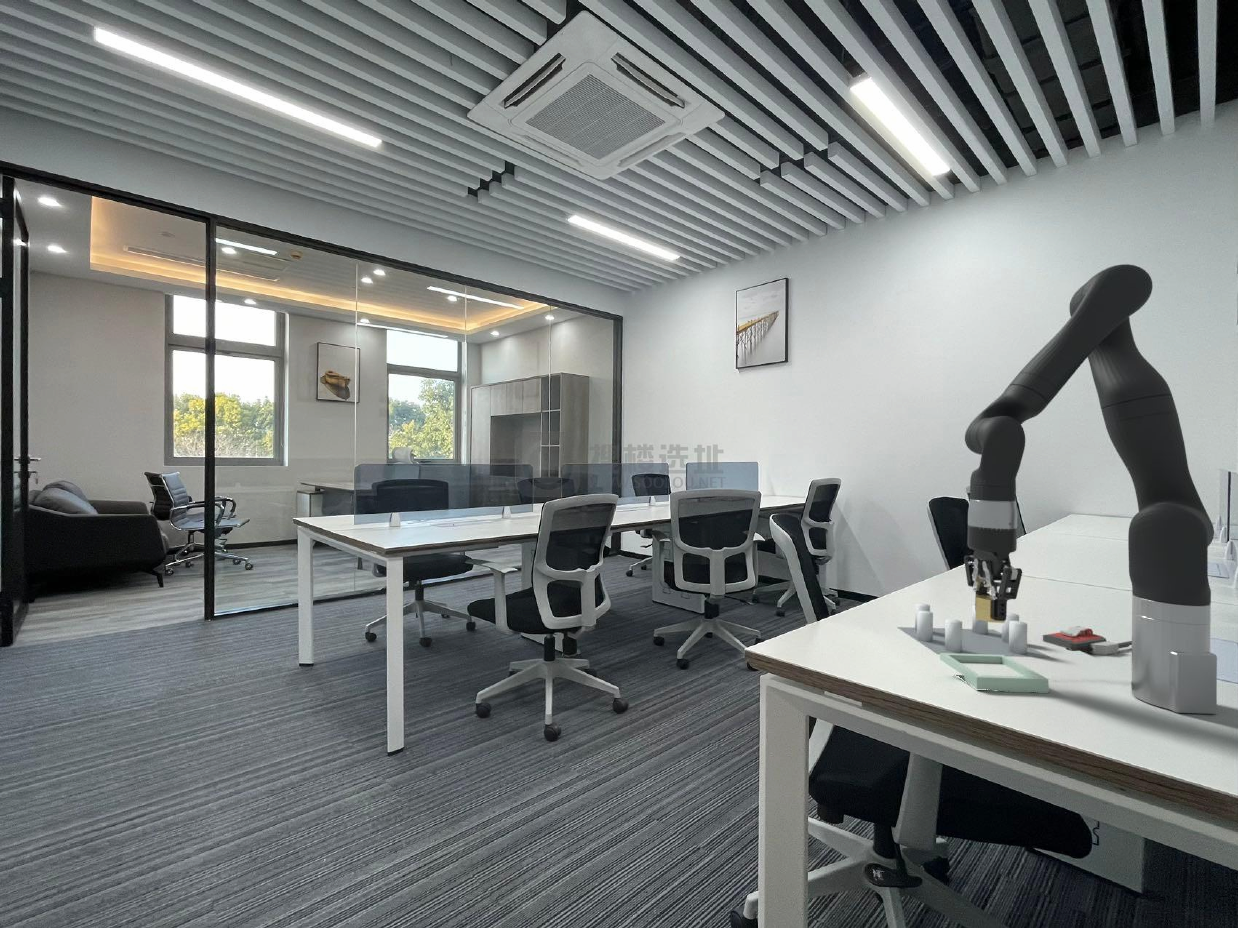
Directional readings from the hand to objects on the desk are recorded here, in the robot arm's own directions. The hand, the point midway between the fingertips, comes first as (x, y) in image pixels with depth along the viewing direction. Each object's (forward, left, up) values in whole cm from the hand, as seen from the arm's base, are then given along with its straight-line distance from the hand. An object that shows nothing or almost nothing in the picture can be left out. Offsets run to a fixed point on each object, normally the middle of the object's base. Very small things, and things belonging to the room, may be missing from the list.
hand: (990, 615), depth 100 cm
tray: (0, 0, -11) cm, 11 cm away
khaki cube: (0, 0, -1) cm, 1 cm away
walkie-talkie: (+19, -32, -12) cm, 39 cm away
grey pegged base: (+18, -6, -11) cm, 22 cm away
